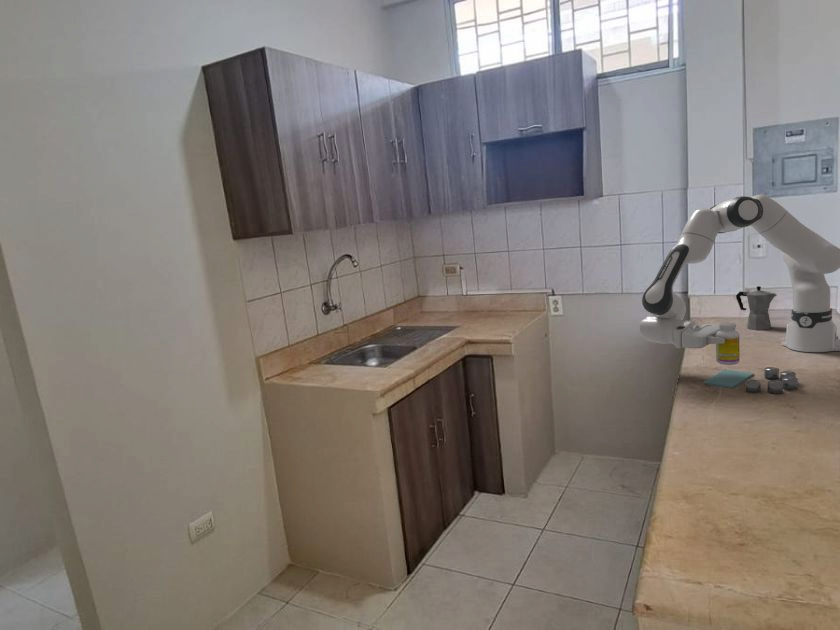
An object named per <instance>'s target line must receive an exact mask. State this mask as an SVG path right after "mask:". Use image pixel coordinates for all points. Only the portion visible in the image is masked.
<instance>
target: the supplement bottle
mask: <svg viewBox="0 0 840 630" xmlns="http://www.w3.org/2000/svg"><path fill="white" fill-rule="evenodd" d="M718 324H719V328H720V331H718V332H717V333H716V337H725V338H726V343H724V344H720V343H717V344H715V354H716V355H715V361H716V362H717V363H718V364H721V365H726V366H727V365H728V366H729V365H730V366H731V365H736V364H739V363H740V357H741V356H740V333H739V331H737V330H736V329H737V324H736V323H735V322H730V321H727V322H720V323H718Z"/></svg>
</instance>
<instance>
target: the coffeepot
mask: <svg viewBox="0 0 840 630" xmlns="http://www.w3.org/2000/svg"><path fill="white" fill-rule="evenodd" d="M776 296H778V294H777V293H774V292H771V291H767V290H762V287H761V285H758V286H756V290H754V291H739V292H738V293H737V294H735V299H736V302H737V303H738V305H739V309H740V310H741V311H746V310H747V309H749V313H748V319H747V324H746V327H747V329H749V330H752V331H754V330H755V331H767V330H771V329H772V325H771V324H772V323H771V319H770V314H769V309H770V305H771V302H772V301H773V300H774V298H775V297H776ZM741 297H746V298H747V303H748V308H745V307H744V304H743V302H742V298H741Z"/></svg>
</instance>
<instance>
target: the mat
mask: <svg viewBox="0 0 840 630" xmlns="http://www.w3.org/2000/svg"><path fill="white" fill-rule="evenodd" d="M754 375H755V373H754V372H748V371H747V372H746V371H741V370H733V369H726V368H725V369H723V370H721V371H720V372H718V373H716V374H714V375H713V376H711V377H710V378H707V379H706V380H705V381H703V385H708V386H709V385H710V386H715V387H721V388H728V389H735V388H736V387H737V386H739V385H740V384H742V383H744V382H745V381H746V380H749V378H752V377H753V376H754Z"/></svg>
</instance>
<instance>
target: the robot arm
mask: <svg viewBox="0 0 840 630" xmlns="http://www.w3.org/2000/svg"><path fill="white" fill-rule="evenodd" d="M749 226H751V227H752V228H753V229H754V230H755V231H757V233H758V234H760V236H761V237H763V238H764V239H765V240H766V241H768V242H769V243H770V244H771V245H772V246H773V247H774V248H777V249H778V250H779V251H780V252H782V258H783V261H784V262H785V264H786V266H787V269H788V273H789V278H790V282H791V286H792V309H791V313H790V315H791V318H790V319H791V321H790V322H789V323H787V325H786V334H785V340H784V341H781V346H784V347H786V348H788V349H789V350H793V351H797V352H804V353H827V352H838V351H839V352H840V337H839V336H838V327H837V325H836V324H835V323H834V321H833V311H834V310H833V308H832V307H831V287H830V285H829V283H828V282H827V280H826V277H825V275H827V274H831V273H834V272H837V271H838V270H840V248H839V247H838V246H836V245H835V244H833V243H831V242H829V241H828V240H826V239H825V238H824V237H823V236H821V235H820V234H819V233H816V232H815V231H814V230H812V229H811V228H808V227H807V226H805V224H803V223H802V222H801V221H800V220H799V219H797V218H796V217H795V216H793V215H792V213H790V212H789V211H788V210H787V209H786V208H785V207H784V206H782V205H781V204H780V203H778V202H777V201H775V200H773V199H772V198H770V197H768V196H767V195H766V194H761V193H760V194H755V195H753V196H737V197H734V198H731V199H727V200H724V201H722V202H720V203H718V204H715V205H713V206H712V207H710V208H698V209H696V210H694V211H693V212H692V213H691V215H690V216H689V218H688V220H687V221H686V223H685V225H684V227H683V229H682V231H681V233H680V235H679V238H678V241H677V242H676V244H675V246H673V247H672V248H671V249H670V251H669V252H668V253H667V255H666V258H665V259H664V261H663V263H662V265H661V266H660V268H659V270H658V272H657V274H656V276H655V278H654V280H653V281H652V283H651V284H650V285H649V286H648V287H647V288H646V289H645V291H644V292H643V295H642V299H641V303H642V306H643V308H644V310H645V311H646V312H649V314H648V315H647V316H646V317H645V318H642V319H641V321H640V324H639V332H640V334H641V336H642V337H643V339H645V340H646V341H649V342H652V343H656V344H664V345H666V344H668V345H669V344H673V345H674V347H675V349H702V348H705V347H707V346H709V345H716V344H717V343H720V344H724V343H726V338H725V337H716V333H717V332H718V331H720V328H719V324H720V323H704V324H701V325H699V324H698V323H697V322H696V321H694V320H686V319H685V317H686V313H687V309H688V307H687V303H686V302H685V300H684V299H683V298H682V297H680V295H678V294H676V293H674V289H673V288H674V285H675V283H676V281H677V279H678V277H679V275H680V273H681V271H682V270H683V268H684V267H685V266H687V265H689V264H691V265H692V264H698V263H701V262H703V261H705V260H706V259H707V258H708V256H709V254H710V253H711V251H712V248H713V246H714V243H715V240H716V237H717V236H718V234H725V233H730V232H735V231H738V230H740V229H743V228H746V227H749Z"/></svg>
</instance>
